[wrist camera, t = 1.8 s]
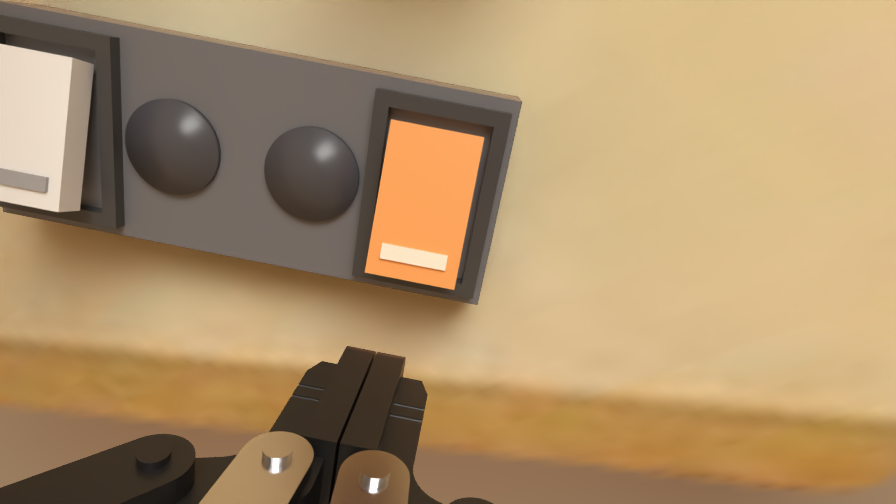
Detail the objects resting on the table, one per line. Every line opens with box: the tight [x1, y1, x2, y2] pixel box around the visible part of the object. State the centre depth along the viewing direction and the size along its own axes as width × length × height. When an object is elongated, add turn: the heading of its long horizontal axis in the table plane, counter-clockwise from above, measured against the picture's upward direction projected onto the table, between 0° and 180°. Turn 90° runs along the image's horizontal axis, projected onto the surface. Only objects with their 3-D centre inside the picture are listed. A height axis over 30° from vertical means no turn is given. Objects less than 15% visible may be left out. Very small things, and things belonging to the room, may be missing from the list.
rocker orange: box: [365, 119, 484, 290], centre depth 21 cm, size 6×4×1 cm, turn 170°
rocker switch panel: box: [0, 0, 522, 305], centre depth 24 cm, size 9×22×4 cm, turn 80°
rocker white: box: [0, 44, 94, 212], centre depth 22 cm, size 6×4×1 cm, turn 169°
